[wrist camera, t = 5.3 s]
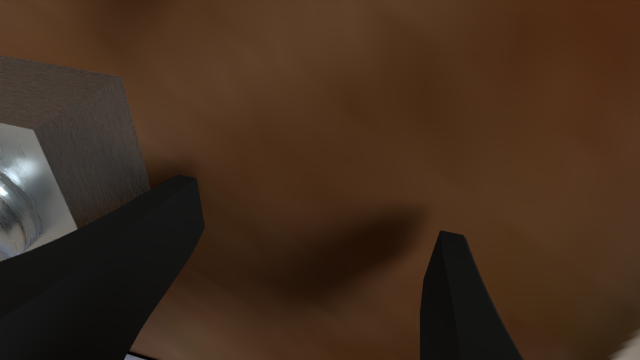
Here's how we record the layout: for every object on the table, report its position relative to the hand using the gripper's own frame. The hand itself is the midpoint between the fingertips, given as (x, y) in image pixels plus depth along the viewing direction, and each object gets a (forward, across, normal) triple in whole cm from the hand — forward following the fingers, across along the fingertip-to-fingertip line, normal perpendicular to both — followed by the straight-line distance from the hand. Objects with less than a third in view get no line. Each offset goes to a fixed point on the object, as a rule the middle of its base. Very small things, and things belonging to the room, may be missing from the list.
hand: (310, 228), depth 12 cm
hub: (+2, +10, 0) cm, 10 cm away
